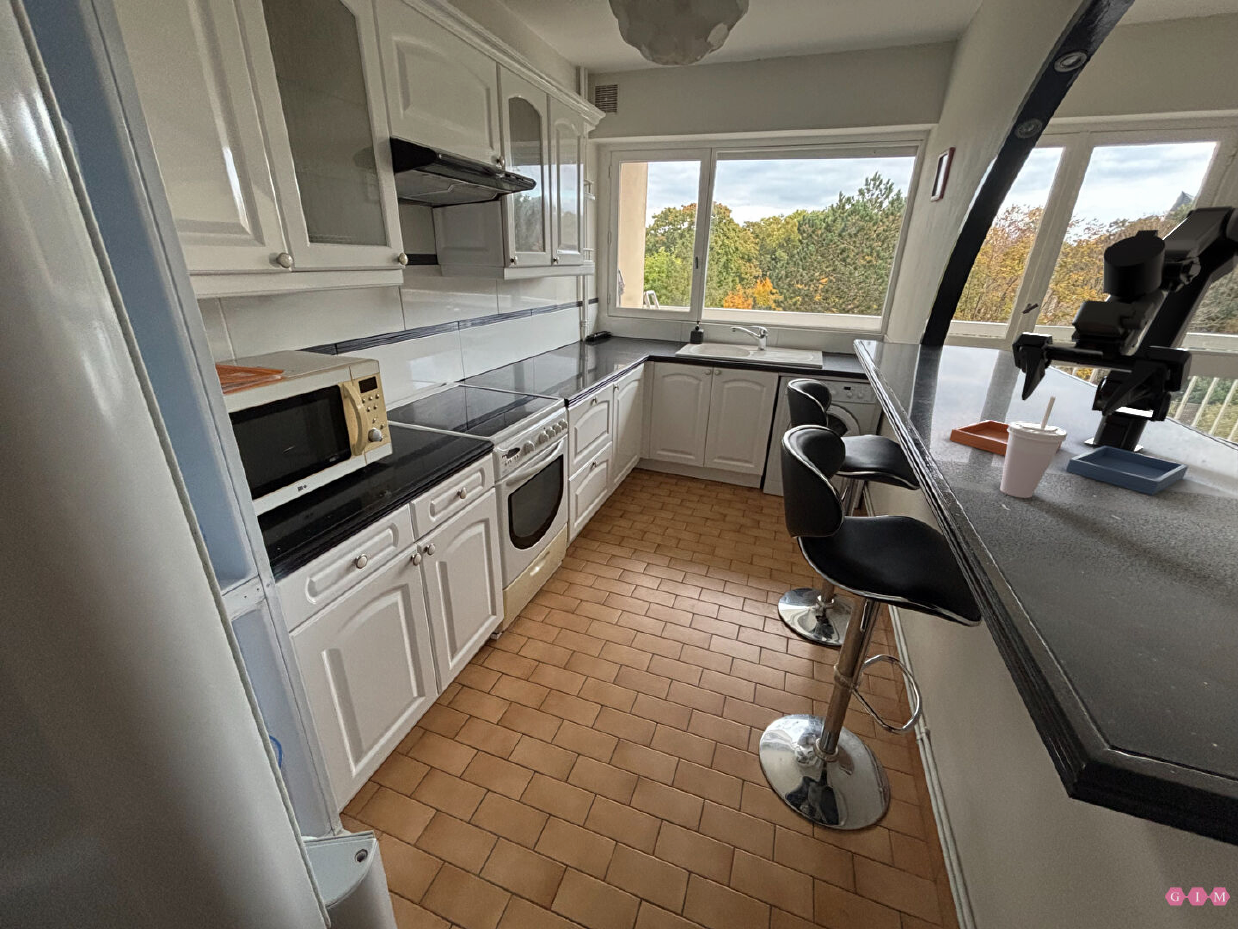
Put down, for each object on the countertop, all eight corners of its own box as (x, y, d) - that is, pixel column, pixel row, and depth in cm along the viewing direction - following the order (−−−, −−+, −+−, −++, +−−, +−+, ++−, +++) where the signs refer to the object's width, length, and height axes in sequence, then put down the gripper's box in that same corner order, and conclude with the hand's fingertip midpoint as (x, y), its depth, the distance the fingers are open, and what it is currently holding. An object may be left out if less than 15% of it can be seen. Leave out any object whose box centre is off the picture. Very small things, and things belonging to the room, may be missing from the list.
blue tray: (1099, 457, 86) (1104, 445, 86) (1183, 477, 78) (1188, 465, 77) (1065, 471, 80) (1070, 458, 79) (1152, 495, 72) (1158, 482, 71)
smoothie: (1054, 504, 69) (1091, 404, 63) (1001, 499, 70) (1034, 401, 65) (1028, 485, 75) (1061, 392, 69) (980, 481, 76) (1009, 389, 70)
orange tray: (985, 429, 100) (988, 419, 99) (1059, 448, 90) (1064, 437, 89) (948, 440, 94) (951, 429, 93) (1024, 461, 84) (1028, 449, 83)
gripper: (1038, 276, 74) (979, 357, 73) (1224, 281, 60) (1156, 383, 58) (1043, 328, 81) (990, 403, 80) (1212, 344, 66) (1150, 437, 65)
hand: (1061, 405), depth 70 cm, fingers open, 9 cm apart
